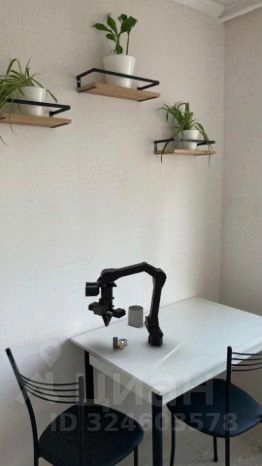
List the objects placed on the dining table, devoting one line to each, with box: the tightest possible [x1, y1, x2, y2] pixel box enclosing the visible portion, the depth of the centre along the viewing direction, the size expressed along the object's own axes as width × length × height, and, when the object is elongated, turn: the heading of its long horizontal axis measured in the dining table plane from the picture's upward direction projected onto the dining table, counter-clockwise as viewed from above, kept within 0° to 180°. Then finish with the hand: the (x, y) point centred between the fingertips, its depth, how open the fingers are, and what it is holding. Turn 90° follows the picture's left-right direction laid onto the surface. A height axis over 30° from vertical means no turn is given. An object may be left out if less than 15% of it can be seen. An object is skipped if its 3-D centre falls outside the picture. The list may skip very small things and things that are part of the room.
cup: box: [127, 304, 144, 329], centre depth 219 cm, size 8×8×10 cm
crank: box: [112, 336, 128, 350], centre depth 190 cm, size 10×4×6 cm, turn 148°
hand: (106, 326), depth 189 cm, fingers closed
